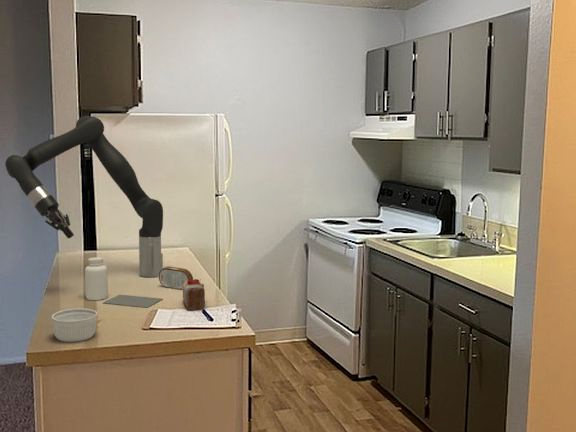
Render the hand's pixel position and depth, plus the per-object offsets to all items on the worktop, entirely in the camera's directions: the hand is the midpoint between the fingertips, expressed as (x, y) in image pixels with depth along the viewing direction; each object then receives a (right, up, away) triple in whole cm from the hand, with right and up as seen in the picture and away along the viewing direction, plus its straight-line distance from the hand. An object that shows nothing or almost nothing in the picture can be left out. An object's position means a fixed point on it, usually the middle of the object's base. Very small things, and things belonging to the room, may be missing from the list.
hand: (71, 236), depth 235 cm
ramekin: (+16, -29, -43) cm, 54 cm away
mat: (+24, -24, -3) cm, 34 cm away
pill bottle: (+9, -23, 0) cm, 25 cm away
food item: (+47, -25, -7) cm, 53 cm away
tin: (+36, -21, +17) cm, 45 cm away
